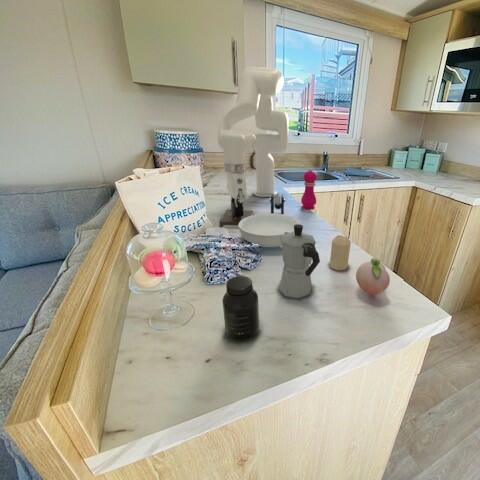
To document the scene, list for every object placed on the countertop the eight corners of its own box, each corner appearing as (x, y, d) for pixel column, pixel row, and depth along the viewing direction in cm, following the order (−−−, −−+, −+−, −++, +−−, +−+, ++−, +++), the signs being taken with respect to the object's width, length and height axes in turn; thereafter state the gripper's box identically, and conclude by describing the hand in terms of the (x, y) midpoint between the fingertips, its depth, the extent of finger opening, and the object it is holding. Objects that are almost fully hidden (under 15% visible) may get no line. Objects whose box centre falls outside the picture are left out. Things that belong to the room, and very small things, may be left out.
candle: (349, 264, 87) (353, 235, 82) (344, 272, 82) (348, 242, 78) (332, 260, 88) (335, 231, 84) (327, 268, 83) (330, 238, 79)
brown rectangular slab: (227, 215, 118) (226, 209, 116) (253, 216, 119) (253, 210, 118) (220, 227, 105) (219, 221, 104) (249, 228, 106) (249, 222, 105)
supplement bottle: (229, 318, 60) (225, 272, 55) (260, 318, 61) (260, 272, 56) (221, 342, 54) (216, 292, 49) (257, 342, 55) (255, 292, 50)
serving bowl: (269, 225, 111) (269, 209, 108) (310, 240, 100) (312, 223, 97) (226, 241, 95) (225, 222, 92) (270, 261, 84) (270, 241, 82)
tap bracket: (267, 218, 118) (267, 191, 113) (288, 218, 119) (289, 192, 114) (265, 228, 107) (264, 199, 102) (288, 229, 108) (289, 200, 103)
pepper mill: (313, 213, 128) (316, 170, 120) (298, 211, 129) (300, 168, 121) (317, 208, 135) (320, 167, 126) (302, 206, 136) (304, 165, 127)
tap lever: (274, 209, 120) (274, 202, 120) (281, 210, 120) (282, 203, 121) (273, 203, 107) (273, 195, 107) (281, 203, 108) (281, 195, 108)
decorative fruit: (351, 282, 77) (355, 251, 73) (379, 283, 78) (385, 252, 74) (357, 303, 69) (362, 269, 64) (389, 304, 69) (396, 270, 65)
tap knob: (231, 214, 111) (230, 200, 109) (240, 213, 113) (240, 199, 111) (233, 217, 108) (233, 203, 106) (243, 216, 110) (243, 202, 108)
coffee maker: (269, 281, 74) (269, 219, 67) (296, 273, 79) (299, 214, 72) (298, 312, 64) (302, 243, 56) (328, 300, 69) (335, 235, 61)
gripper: (252, 172, 99) (253, 219, 106) (237, 163, 111) (239, 206, 119) (231, 173, 95) (234, 222, 102) (218, 164, 107) (222, 208, 115)
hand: (237, 213), depth 111 cm, fingers closed on tap knob, 4 cm apart
